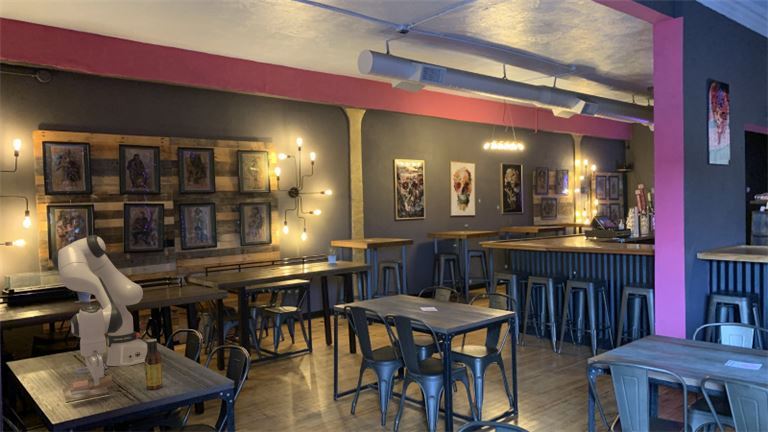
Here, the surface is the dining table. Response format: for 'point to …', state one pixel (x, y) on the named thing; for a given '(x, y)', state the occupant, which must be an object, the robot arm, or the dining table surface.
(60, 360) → the dining table surface
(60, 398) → the dining table surface
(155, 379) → the sauce bottle
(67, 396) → the board
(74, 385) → the tile
